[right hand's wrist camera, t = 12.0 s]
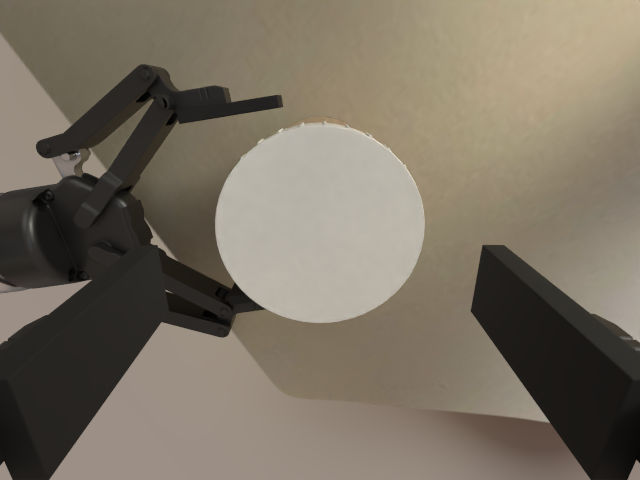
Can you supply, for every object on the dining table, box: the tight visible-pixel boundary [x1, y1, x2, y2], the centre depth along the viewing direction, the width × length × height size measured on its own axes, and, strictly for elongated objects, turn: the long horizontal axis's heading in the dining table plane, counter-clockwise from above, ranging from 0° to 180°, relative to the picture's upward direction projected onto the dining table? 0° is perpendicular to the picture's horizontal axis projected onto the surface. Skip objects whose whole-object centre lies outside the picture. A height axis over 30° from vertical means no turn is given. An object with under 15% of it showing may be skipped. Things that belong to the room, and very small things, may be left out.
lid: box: [215, 121, 425, 323], centre depth 18 cm, size 10×10×2 cm
